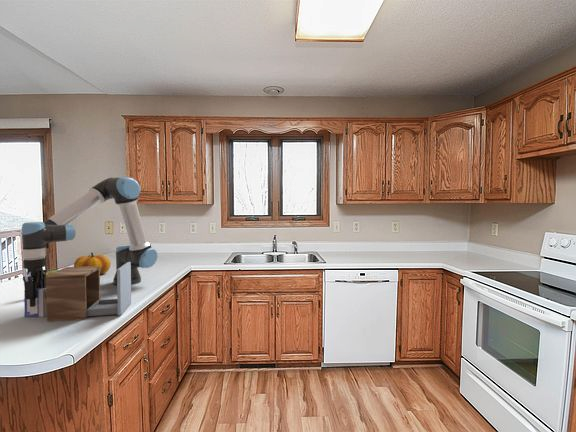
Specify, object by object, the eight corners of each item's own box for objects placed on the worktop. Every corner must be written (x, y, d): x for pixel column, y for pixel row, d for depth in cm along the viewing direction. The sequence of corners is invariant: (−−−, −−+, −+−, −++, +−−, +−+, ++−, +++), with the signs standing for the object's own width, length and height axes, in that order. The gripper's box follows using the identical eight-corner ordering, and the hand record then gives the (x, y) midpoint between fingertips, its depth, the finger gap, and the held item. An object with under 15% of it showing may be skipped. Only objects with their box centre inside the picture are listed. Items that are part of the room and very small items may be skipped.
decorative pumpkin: (65, 277, 196) (64, 254, 196) (96, 269, 217) (96, 249, 217) (88, 279, 190) (87, 256, 189) (118, 272, 211) (117, 251, 210)
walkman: (24, 316, 129) (24, 289, 128) (29, 314, 131) (29, 287, 131) (43, 316, 129) (43, 288, 129) (48, 314, 132) (48, 287, 132)
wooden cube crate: (66, 307, 140) (65, 267, 139) (100, 305, 144) (99, 266, 143) (47, 321, 124) (45, 276, 123) (85, 318, 127) (84, 274, 126)
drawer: (99, 304, 144) (99, 263, 143) (131, 302, 147) (130, 261, 146) (85, 317, 127) (84, 271, 126) (120, 315, 130) (120, 269, 129)
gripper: (35, 255, 136) (37, 306, 137) (11, 262, 120) (14, 319, 122) (54, 254, 138) (56, 304, 139) (33, 261, 122) (36, 318, 123)
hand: (36, 311), depth 130 cm, fingers open, 3 cm apart
